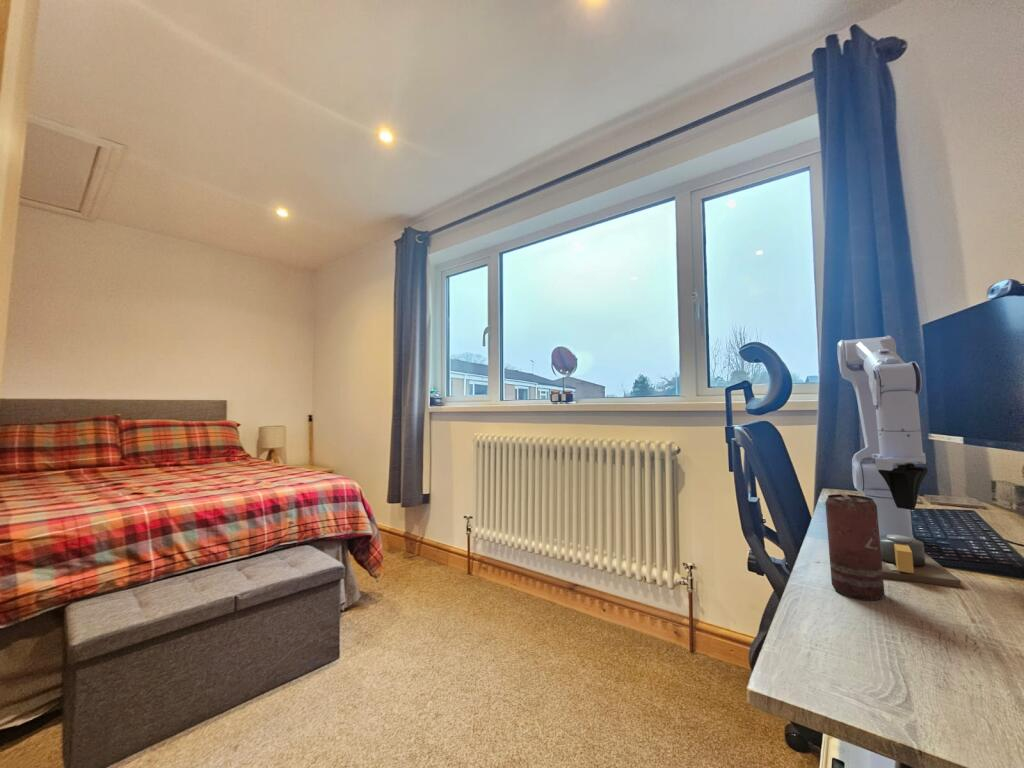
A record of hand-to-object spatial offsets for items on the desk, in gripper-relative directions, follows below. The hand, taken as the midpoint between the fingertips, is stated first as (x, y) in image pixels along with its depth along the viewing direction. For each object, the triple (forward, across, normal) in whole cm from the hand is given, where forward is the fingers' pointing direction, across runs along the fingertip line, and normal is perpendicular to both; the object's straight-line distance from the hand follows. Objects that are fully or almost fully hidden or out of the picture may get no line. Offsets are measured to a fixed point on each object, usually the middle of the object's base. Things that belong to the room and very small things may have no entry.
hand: (905, 508), depth 75 cm
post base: (+9, +4, 0) cm, 10 cm away
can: (+10, +21, +1) cm, 23 cm away
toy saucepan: (+8, +5, +1) cm, 10 cm away
